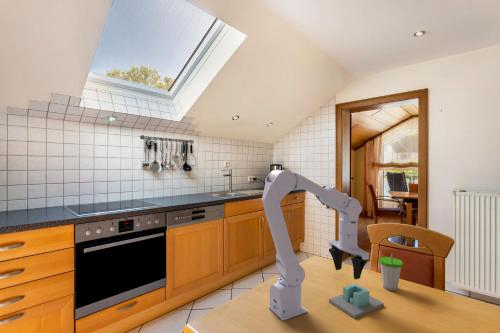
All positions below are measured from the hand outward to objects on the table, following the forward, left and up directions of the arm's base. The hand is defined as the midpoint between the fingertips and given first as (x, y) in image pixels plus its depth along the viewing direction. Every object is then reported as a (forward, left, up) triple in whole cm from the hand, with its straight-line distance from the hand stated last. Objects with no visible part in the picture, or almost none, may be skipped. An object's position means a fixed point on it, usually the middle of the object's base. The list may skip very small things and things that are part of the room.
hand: (347, 273), depth 84 cm
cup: (+21, -2, -10) cm, 23 cm away
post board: (+1, -3, -9) cm, 10 cm away
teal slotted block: (+1, -3, -8) cm, 9 cm away
